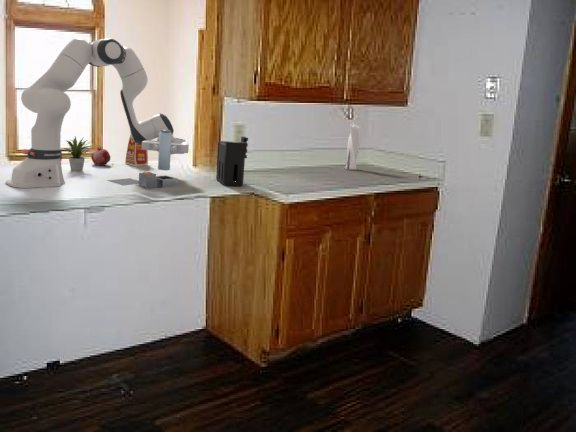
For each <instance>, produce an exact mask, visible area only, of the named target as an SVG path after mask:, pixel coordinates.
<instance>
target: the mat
mask: <svg viewBox="0 0 576 432" xmlns="http://www.w3.org/2000/svg"><path fill="white" fill-rule="evenodd" d="M106 181H108V182H110V183H113V184H116V185H120V186H129V185H130V186H131V185H136V184H139V179H138V180H137V179H134V178H118V179H117V178H115V179H107V180H106Z"/></svg>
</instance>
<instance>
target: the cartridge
mask: <svg viewBox="0 0 576 432" xmlns="http://www.w3.org/2000/svg"><path fill="white" fill-rule="evenodd" d="M171 136H172V133H171V130H164V129H162V130H161V132H160V137H159V152H158V159H157V160H158V162H157V165H158V166H157V169H158V171H170V170H171V156H172V154H171Z"/></svg>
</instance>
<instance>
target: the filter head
mask: <svg viewBox="0 0 576 432" xmlns="http://www.w3.org/2000/svg"><path fill="white" fill-rule="evenodd" d="M151 173H152V174H144V172H138V181H139V184H135V186H136V187H141V188H145V189H147V190H153V189H162V188H171V187H172V188H173V187H179V178H177V177H173V176H170V175H166V174H165V175H157V174H156V173H154V172H151Z"/></svg>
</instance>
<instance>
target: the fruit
mask: <svg viewBox="0 0 576 432" xmlns="http://www.w3.org/2000/svg"><path fill="white" fill-rule="evenodd" d="M90 159H91V161H92V162H93V164H94V165H95V166H105V165H107V164H108V163H109V162H110V161H111V155H110V152H109V151H108V150H107V149H106V148H102V147H101V146H97V148H96V149H95V150H94V151H93V152H92V153H91V157H90Z"/></svg>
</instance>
